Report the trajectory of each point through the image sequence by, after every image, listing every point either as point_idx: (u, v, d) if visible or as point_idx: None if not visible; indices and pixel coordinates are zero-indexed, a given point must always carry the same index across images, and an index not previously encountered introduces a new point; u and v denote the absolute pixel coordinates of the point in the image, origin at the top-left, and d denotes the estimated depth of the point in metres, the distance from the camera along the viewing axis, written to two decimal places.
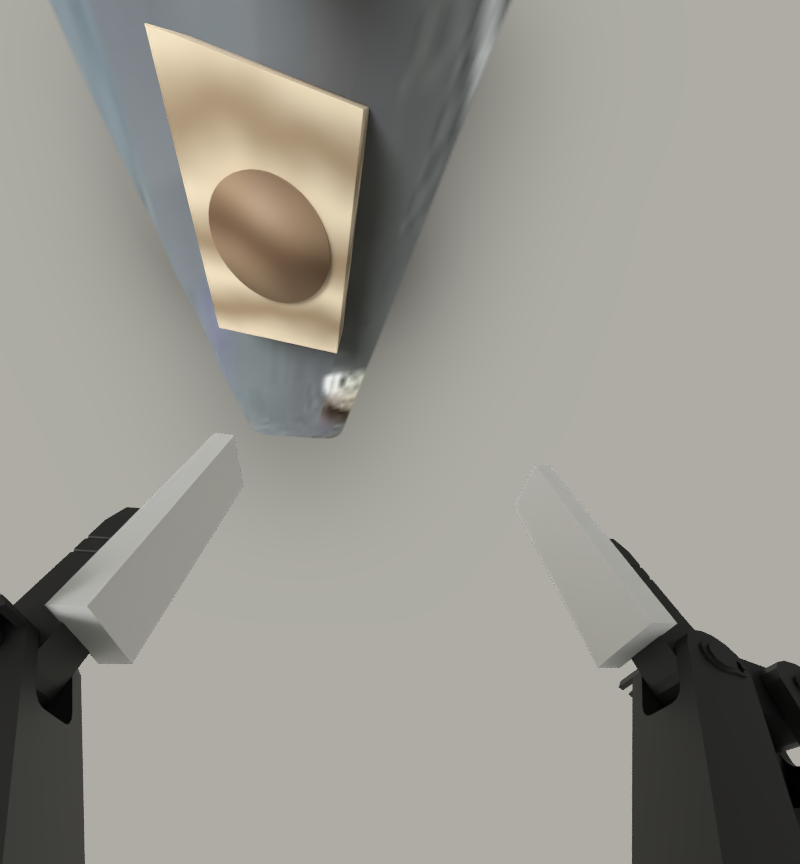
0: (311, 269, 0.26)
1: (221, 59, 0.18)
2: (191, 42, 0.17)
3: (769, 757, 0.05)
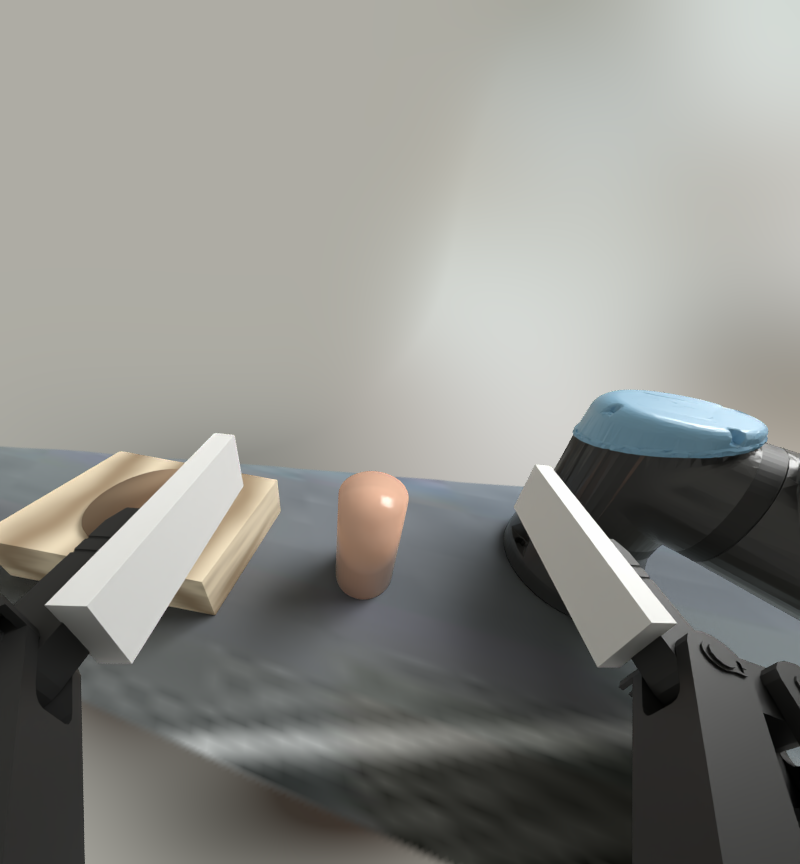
0: None
1: (256, 504, 0.31)
2: (266, 494, 0.32)
3: (769, 757, 0.05)
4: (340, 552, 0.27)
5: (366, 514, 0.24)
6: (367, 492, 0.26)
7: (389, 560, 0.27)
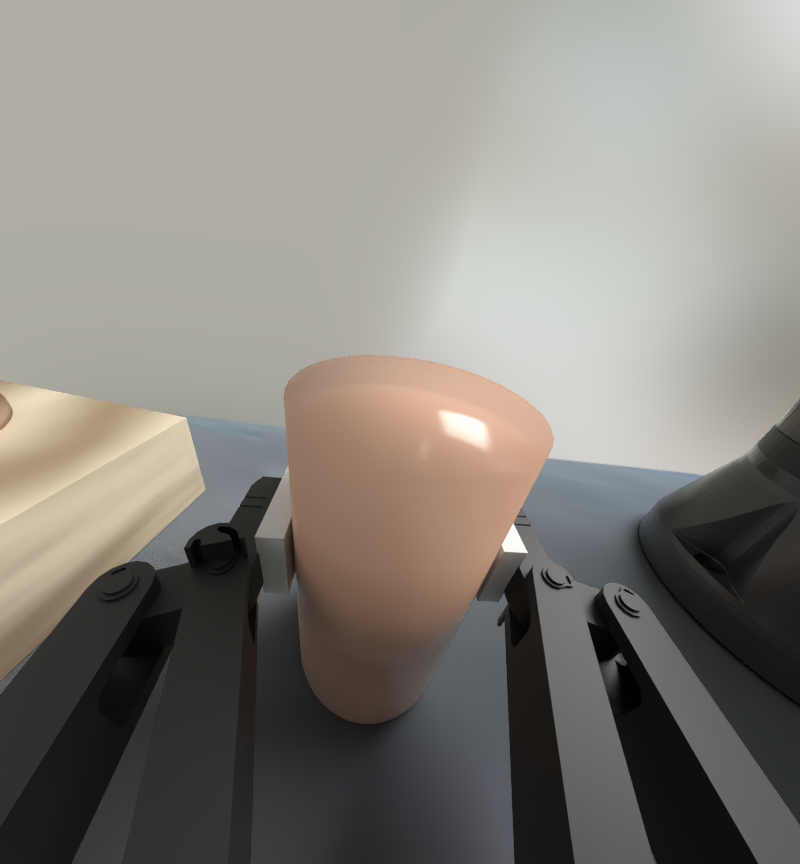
0: None
1: (107, 458, 0.12)
2: (146, 440, 0.14)
3: (590, 650, 0.07)
4: (301, 598, 0.09)
5: (399, 447, 0.05)
6: (396, 391, 0.07)
7: (457, 626, 0.09)
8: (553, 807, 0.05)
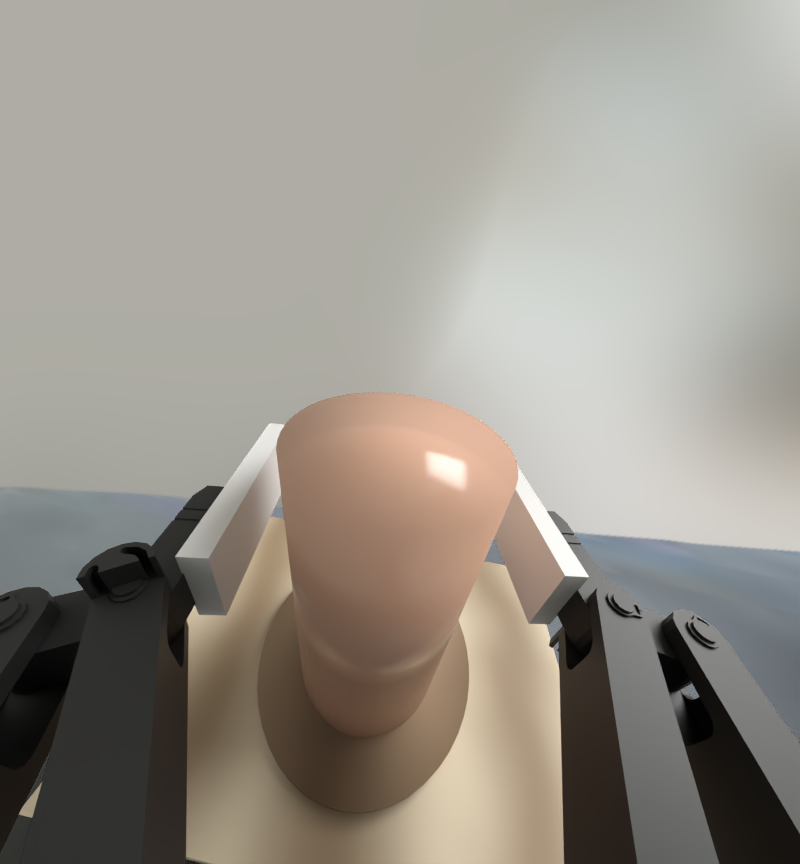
0: (325, 736, 0.11)
1: (545, 636, 0.16)
2: None
3: (661, 686, 0.06)
4: (298, 621, 0.09)
5: (375, 498, 0.06)
6: (378, 434, 0.08)
7: (443, 646, 0.09)
8: (614, 833, 0.05)
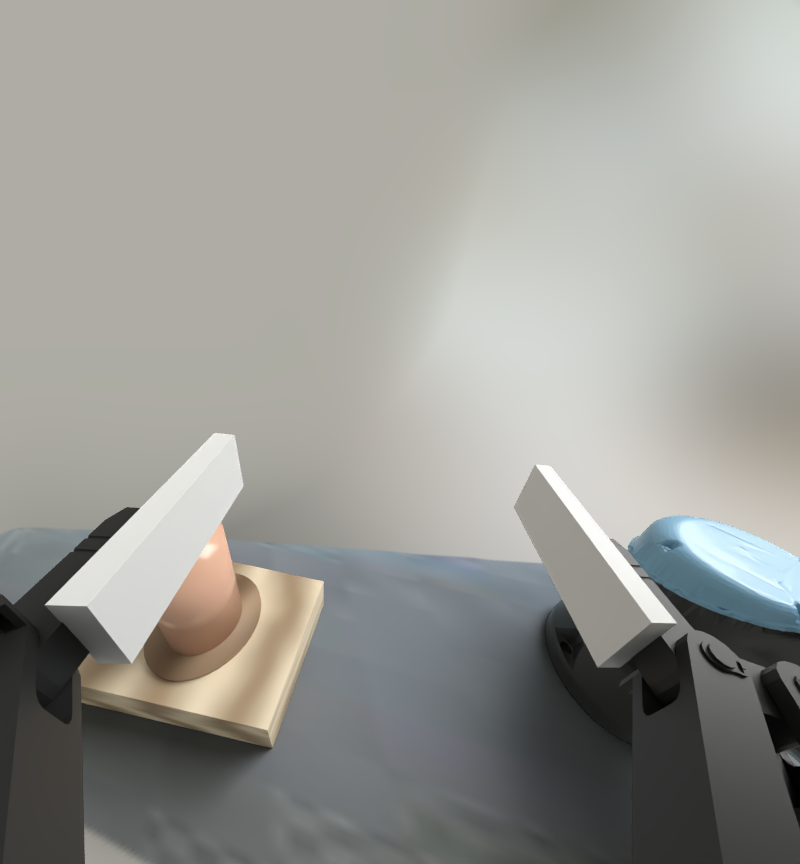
0: (170, 655, 0.26)
1: (308, 616, 0.31)
2: (315, 602, 0.33)
3: (769, 758, 0.05)
4: None
5: None
6: None
7: (206, 615, 0.24)
8: None
